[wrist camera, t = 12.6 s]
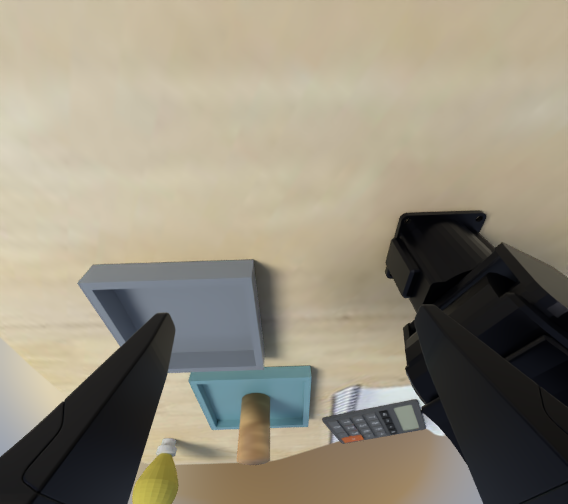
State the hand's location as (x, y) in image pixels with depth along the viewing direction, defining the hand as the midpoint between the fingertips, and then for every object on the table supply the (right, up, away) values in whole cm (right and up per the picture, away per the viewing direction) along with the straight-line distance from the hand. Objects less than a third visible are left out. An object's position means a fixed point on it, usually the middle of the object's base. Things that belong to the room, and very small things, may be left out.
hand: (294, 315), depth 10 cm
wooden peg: (-4, -19, +29) cm, 34 cm away
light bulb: (-21, -31, +39) cm, 54 cm away
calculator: (+15, -26, +36) cm, 47 cm away
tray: (-4, -18, +29) cm, 35 cm away
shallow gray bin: (-10, -4, +18) cm, 21 cm away
